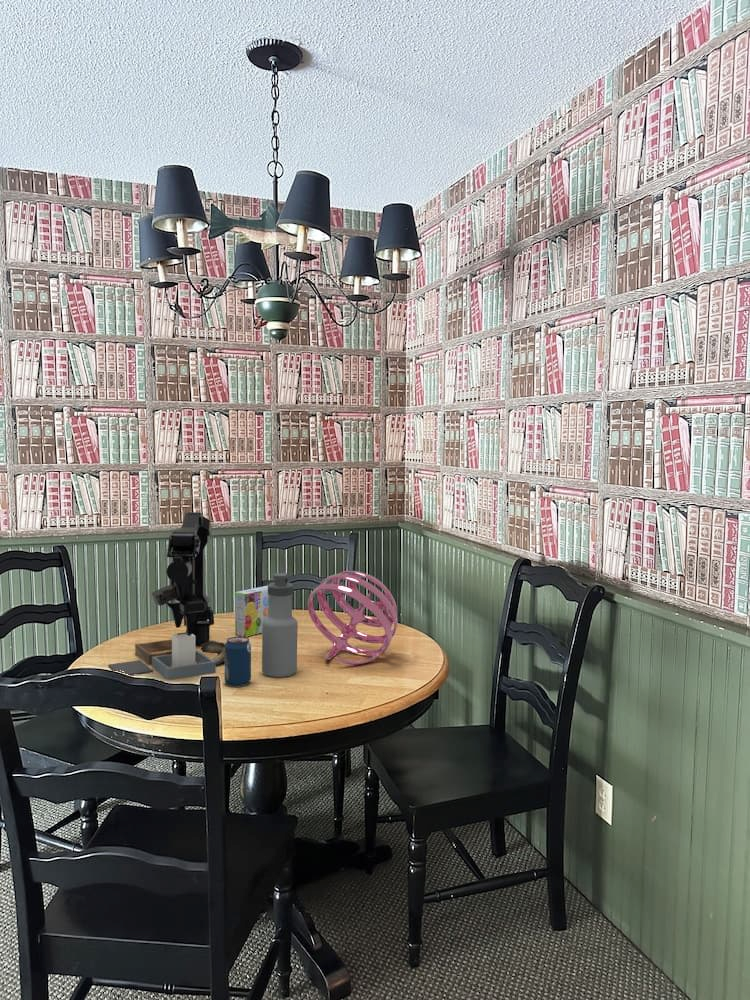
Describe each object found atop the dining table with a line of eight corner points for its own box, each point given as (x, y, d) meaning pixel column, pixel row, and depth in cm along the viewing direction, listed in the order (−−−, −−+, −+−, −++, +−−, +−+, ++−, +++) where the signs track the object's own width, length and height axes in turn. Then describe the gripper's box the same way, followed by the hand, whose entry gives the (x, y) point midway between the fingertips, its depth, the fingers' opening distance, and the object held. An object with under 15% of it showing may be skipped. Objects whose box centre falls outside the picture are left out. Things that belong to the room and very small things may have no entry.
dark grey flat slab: (140, 661, 213) (140, 660, 213) (153, 672, 203) (153, 670, 203) (108, 666, 208) (108, 664, 208) (120, 677, 198) (120, 675, 198)
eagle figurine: (219, 652, 221) (195, 652, 214) (231, 634, 219) (207, 634, 212) (231, 670, 216) (207, 671, 209) (243, 652, 214) (219, 653, 207)
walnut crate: (179, 647, 229) (179, 638, 229) (194, 658, 218) (194, 648, 218) (135, 653, 221) (135, 644, 221) (149, 665, 210) (149, 654, 210)
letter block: (188, 666, 210) (189, 631, 209) (195, 670, 206) (195, 635, 205) (171, 668, 207) (171, 633, 206) (177, 673, 203) (178, 637, 202)
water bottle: (263, 667, 210) (264, 570, 209) (297, 667, 211) (299, 571, 209) (260, 678, 200) (261, 576, 198) (296, 678, 201) (297, 577, 199)
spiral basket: (335, 611, 196) (381, 546, 214) (270, 619, 215) (317, 559, 233) (388, 684, 205) (428, 616, 223) (321, 685, 224) (363, 623, 242)
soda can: (255, 681, 197) (256, 637, 196) (241, 689, 191) (241, 643, 190) (234, 678, 200) (234, 634, 199) (219, 685, 193) (219, 640, 193)
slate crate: (197, 660, 216) (197, 650, 216) (215, 672, 205) (215, 661, 204) (151, 667, 208) (151, 656, 208) (167, 680, 197) (167, 669, 197)
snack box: (277, 624, 263) (278, 582, 262) (289, 626, 260) (289, 584, 259) (234, 635, 246) (234, 591, 245) (246, 638, 243) (246, 593, 242)
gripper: (144, 573, 208) (144, 627, 209) (166, 583, 192) (166, 642, 193) (182, 570, 214) (182, 622, 215) (206, 580, 199) (206, 636, 200)
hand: (183, 630), depth 206 cm, fingers open, 9 cm apart
